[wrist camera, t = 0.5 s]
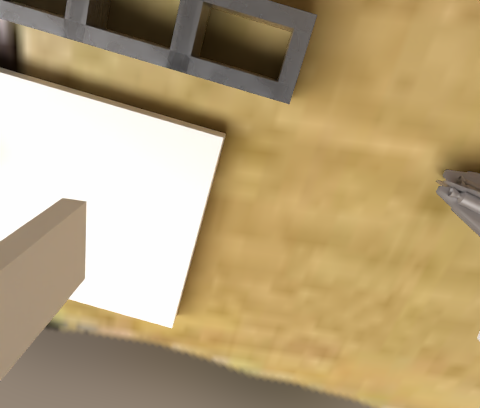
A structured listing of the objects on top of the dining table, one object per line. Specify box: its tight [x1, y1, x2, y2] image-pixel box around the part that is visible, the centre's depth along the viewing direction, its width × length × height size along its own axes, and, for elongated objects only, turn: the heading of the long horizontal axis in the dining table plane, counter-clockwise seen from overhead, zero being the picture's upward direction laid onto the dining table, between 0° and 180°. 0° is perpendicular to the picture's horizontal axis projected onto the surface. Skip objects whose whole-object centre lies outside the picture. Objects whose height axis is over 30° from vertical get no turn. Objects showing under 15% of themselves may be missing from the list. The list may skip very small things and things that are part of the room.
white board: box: [0, 67, 226, 328], centre depth 38 cm, size 28×18×2 cm, turn 74°
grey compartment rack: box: [0, 0, 317, 104], centre depth 32 cm, size 24×6×4 cm, turn 74°
